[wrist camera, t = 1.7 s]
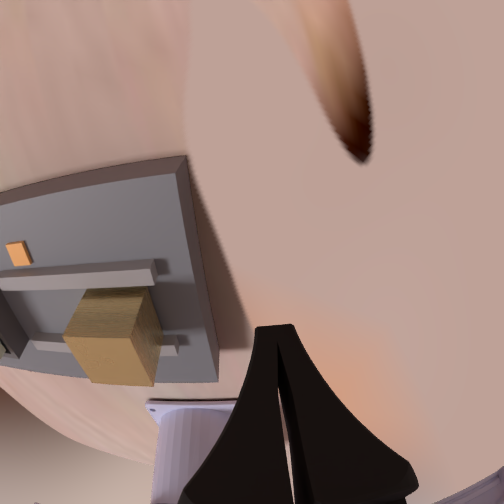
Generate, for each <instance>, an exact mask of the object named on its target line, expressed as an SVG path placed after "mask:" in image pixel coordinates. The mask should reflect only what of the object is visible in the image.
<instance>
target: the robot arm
mask: <svg viewBox="0 0 504 504" xmlns="http://www.w3.org/2000/svg"><path fill="white" fill-rule="evenodd" d="M278 389H279V394H280V399H281V403H282V408H283V413H284V418H285V422H286V427H287V432H288V438H289V445H290V455H291V465H292V475H293V486H294V498H295V504H407V503H406V499H405V497H406V496H408V495H409V494H411V493H412V492H414V491H415V490H417V489H418V487H419V484H418V480H417V477H416V475H415V473H414V470H413V468H412V466H411V465H410V463H409V462H408V461H407V460H405V459H404V458H403V457H401V456H400V455H398V454H397V453H396V452H394V451H393V450H392V449H390V448H389V447H388V446H387V445H385V444H384V443H383V442H382V441H380V440H379V439H378V438H377V437H376V436H374V435H373V434H372V433H371V432H370V431H369V430H368V429H367V428H366V427H365V426H364V425H363V424H362V423H361V422H360V421H359V420H357V418H356V417H355V416H354V415H353V414H352V413H351V412H350V411H349V410H348V409H347V408H346V407H345V405H344V404H343V403H342V402H341V401H340V400H339V398H338V397H337V396H336V395H335V393H334V392H333V391H332V390H331V388H330V387H329V385H328V384H327V383H326V381H325V380H324V379H323V377H322V376H321V374H320V373H319V371H318V370H317V368H316V367H315V365H314V363H313V362H312V360H311V359H310V357H309V355H308V354H307V352H306V350H305V348H304V346H303V344H302V343H301V341H300V339H299V336H298V334H297V332H296V330H295V327H294V325H292V324H283V325H272V326H260V327H257V328H255V337H254V345H253V351H252V355H251V360H250V363H249V367H248V370H247V374H246V377H245V380H244V383H243V386H242V388H241V391H240V394H239V397H238V399H237V400H235V401H198V402H186V401H146V402H145V407H146V408H147V410H148V411H149V413H150V414H151V416H152V417H153V419H154V420H155V422H156V423H157V425H158V426H159V433H158V440H157V448H156V457H155V466H154V476H153V485H152V495H151V504H294V502H293V496H292V490H291V484H290V477H289V471H288V464H287V457H286V450H285V443H284V436H283V429H282V422H281V414H280V406H279V398H278ZM34 504H39V503H34ZM433 504H504V466H503V467H502V468H500V469H499V470H498V471H497V472H495V473H493V474H492V475H490V476H488V477H486V478H485V479H483V480H481V481H479V482H477V483H475V484H474V485H472V486H470V487H468V488H466V489H464V490H462V491H460V492H458V493H455V494H453V495H451V496H449V497H447V498H445V499H442V500H440V501H438V502H436V503H433Z"/></svg>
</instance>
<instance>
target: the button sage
mask: <svg viewBox="0 0 504 504" xmlns="http://www.w3.org/2000/svg"><path fill="white" fill-rule="evenodd" d="M5 351H6V349H5V348H4V346H3V345H2V344H1V342H0V361H1V359H2V357H3V355H4V353H5Z"/></svg>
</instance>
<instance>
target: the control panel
mask: <svg viewBox="0 0 504 504" xmlns="http://www.w3.org/2000/svg"><path fill="white" fill-rule="evenodd" d="M132 286H147V287H148V290H149V293H150V296H151V299H152V302H153V305H154V308H155V311H156V314H157V317H158V320H159V323H160V326H161V329H162V331H163V334H164V337H163V342H162V346H161V351H160V356H159V361H158V366H157V371H156V376H155V381H154V383H210V382H218V379H219V345H218V341H217V336H216V331H215V326H214V321H213V316H212V311H211V306H210V300H209V295H208V290H207V285H206V279H205V274H204V268H203V262H202V257H201V251H200V245H199V239H198V233H197V227H196V220H195V214H194V208H193V201H192V194H191V188H190V181H189V174H188V166H187V159H186V155H185V156H177V157H170V158H162V159H155V160H148V161H142V162H135V163H129V164H123V165H118V166H112V167H107V168H101V169H96V170H91V171H86V172H81V173H77V174H72V175H67V176H63V177H59V178H54V179H50V180H46V181H42V182H38V183H34V184H30V185H26V186H23V187H19V188H15V189H12V190H8V191H5V192H2V193H0V342H1V344H2V345H3V346H4V348H5V349H6V351H5V353H4V355H3V357H2V359H1V361H0V365H2V366H7V367H12V368H17V369H22V370H28V371H34V372H40V373H47V374H54V375H62V376H70V377H79V378H88V376H87V375H86V373H85V372H84V370H83V369H82V367H81V366H80V364H79V363H78V361H77V360H76V358H75V357H74V355H73V354H72V352H71V350H70V349H69V347H68V346H67V344H66V342H65V341H64V339H63V337H62V336H63V333H64V331H65V329H66V327H67V325H68V323H69V321H70V319H71V318H72V316H73V314H74V312H75V310H76V308H77V306H78V304H79V302H80V300H81V299H82V297H83V295H84V293H85V291H86V289H87V288H111V287H132ZM88 379H89V378H88Z"/></svg>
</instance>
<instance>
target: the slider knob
mask: <svg viewBox="0 0 504 504" xmlns="http://www.w3.org/2000/svg"><path fill="white" fill-rule="evenodd" d="M62 337H63V339H64V341H65V342H66V344H67V346H68V347H69V349H70V350H71V352H72V354H73V355H74V357H75V358H76V360H77V361H78V363H79V364H80V366H81V367H82V369H83V370H84V372H85V373H86V375H87V376H88V378H89V379H90V380H91V382H92V383H101V384H113V385H128V386H149V387H154V381H155V376H156V371H157V366H158V361H159V356H160V351H161V346H162V342H163V337H164V334H163V331H162V329H161V326H160V323H159V320H158V317H157V314H156V311H155V308H154V305H153V302H152V299H151V296H150V293H149V290H148V287H147V286H132V287H111V288H87V289H86V291H85V293H84V295H83V297H82V299H81V300H80V302H79V304H78V306H77V308H76V310H75V312H74V314H73V316H72V318H71V319H70V321H69V323H68V325H67V327H66V329H65V331H64V333H63V336H62Z"/></svg>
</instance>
